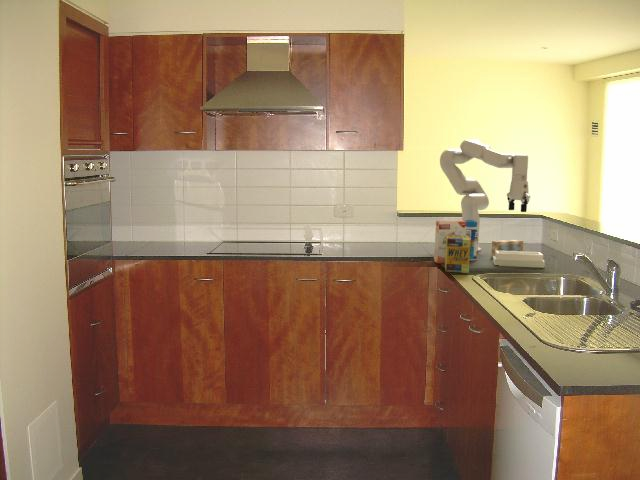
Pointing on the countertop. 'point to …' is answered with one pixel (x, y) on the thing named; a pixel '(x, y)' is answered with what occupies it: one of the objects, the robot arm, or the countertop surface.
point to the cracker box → (440, 236)
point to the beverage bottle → (472, 238)
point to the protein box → (457, 253)
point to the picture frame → (507, 246)
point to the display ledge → (519, 259)
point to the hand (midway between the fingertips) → (517, 210)
